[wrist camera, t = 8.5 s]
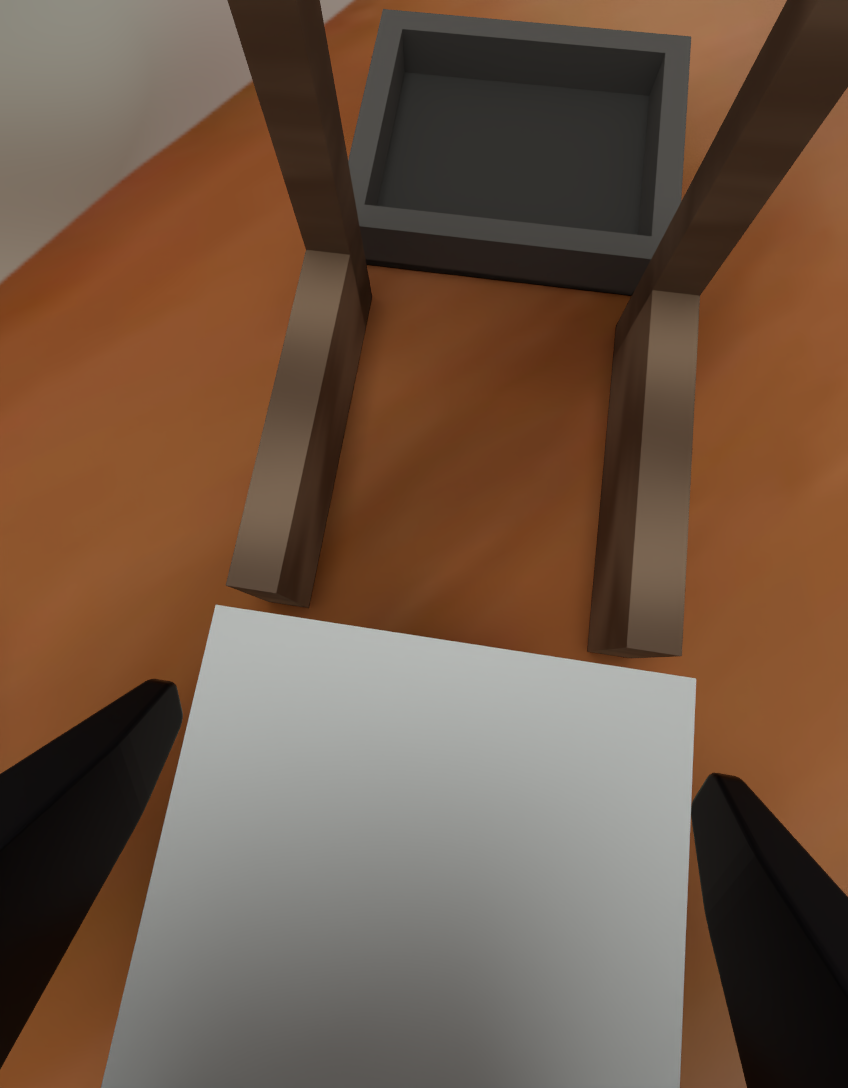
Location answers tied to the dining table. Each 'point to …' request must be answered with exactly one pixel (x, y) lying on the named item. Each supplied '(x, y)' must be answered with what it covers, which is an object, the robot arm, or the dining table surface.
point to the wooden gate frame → (640, 339)
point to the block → (414, 870)
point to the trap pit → (519, 149)
